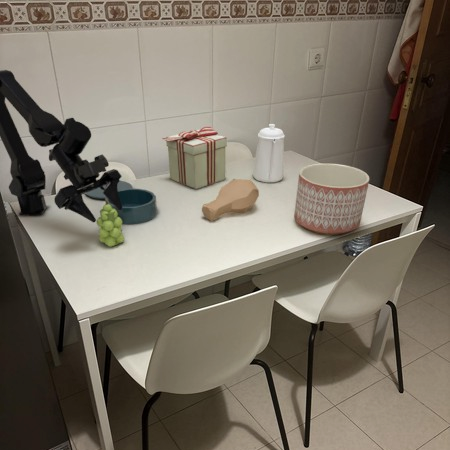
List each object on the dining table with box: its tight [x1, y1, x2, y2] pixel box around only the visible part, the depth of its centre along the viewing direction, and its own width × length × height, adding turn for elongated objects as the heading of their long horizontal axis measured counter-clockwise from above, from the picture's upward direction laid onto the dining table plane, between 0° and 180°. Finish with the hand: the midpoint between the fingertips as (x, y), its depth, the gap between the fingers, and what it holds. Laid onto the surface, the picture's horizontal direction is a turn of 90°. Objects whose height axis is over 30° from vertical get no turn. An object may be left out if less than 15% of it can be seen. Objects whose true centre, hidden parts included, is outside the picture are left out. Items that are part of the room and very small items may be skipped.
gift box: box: [162, 126, 228, 190], centre depth 156 cm, size 17×18×17 cm
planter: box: [293, 162, 370, 236], centre depth 129 cm, size 19×19×15 cm
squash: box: [201, 178, 260, 222], centre depth 136 cm, size 11×20×9 cm, turn 135°
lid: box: [84, 180, 134, 200], centre depth 148 cm, size 16×16×5 cm
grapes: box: [96, 199, 125, 247], centre depth 117 cm, size 7×7×12 cm
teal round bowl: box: [104, 188, 158, 225], centre depth 134 cm, size 15×15×5 cm
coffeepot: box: [252, 123, 286, 183], centre depth 157 cm, size 11×25×19 cm, turn 179°
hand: (108, 215), depth 116 cm, fingers open, 9 cm apart
